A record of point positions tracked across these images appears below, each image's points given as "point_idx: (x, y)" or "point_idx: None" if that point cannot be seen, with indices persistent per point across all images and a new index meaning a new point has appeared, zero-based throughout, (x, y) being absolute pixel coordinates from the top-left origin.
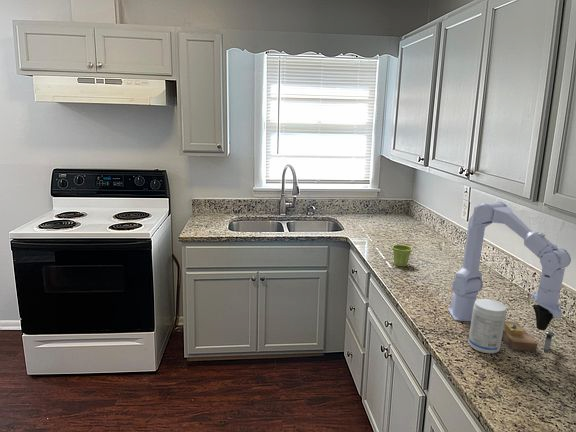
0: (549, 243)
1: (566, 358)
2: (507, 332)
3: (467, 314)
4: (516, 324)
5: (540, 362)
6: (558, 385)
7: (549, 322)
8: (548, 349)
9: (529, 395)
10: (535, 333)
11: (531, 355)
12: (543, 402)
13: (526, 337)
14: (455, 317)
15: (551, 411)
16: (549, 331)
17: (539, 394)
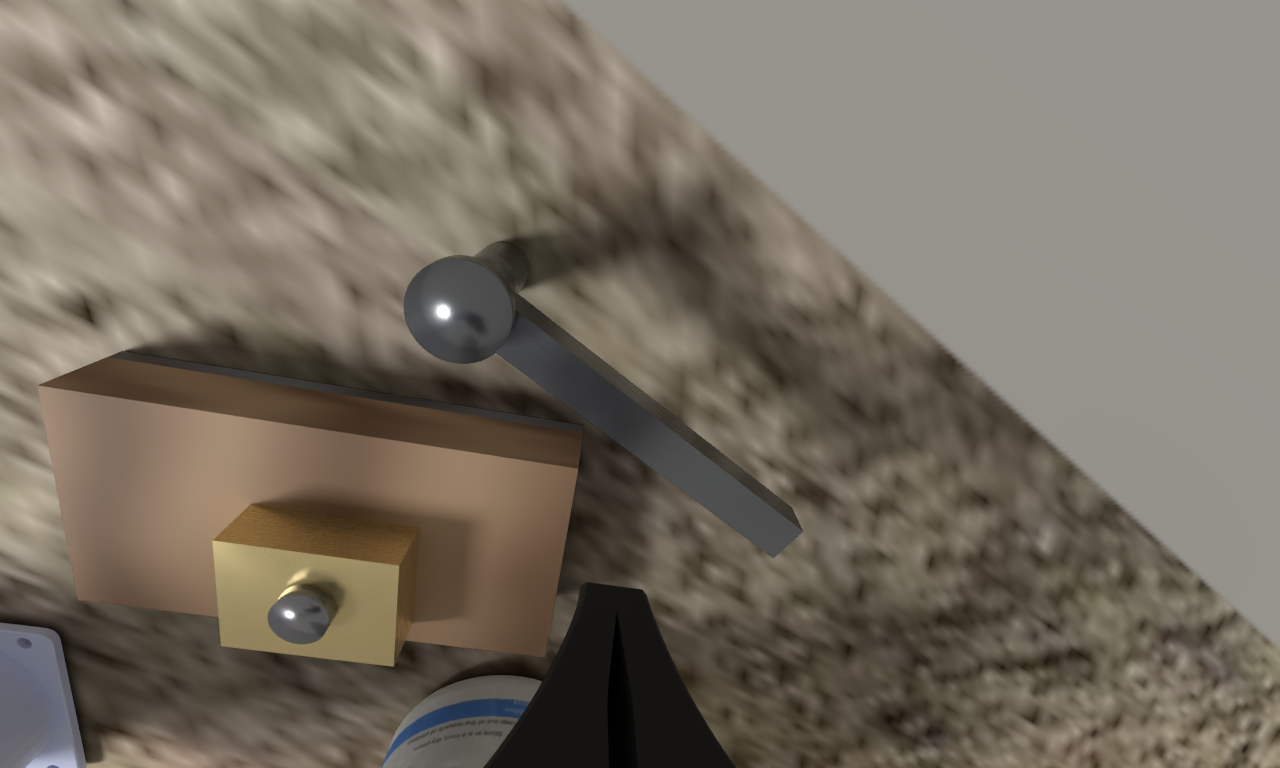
0: None
1: (700, 189)
2: None
3: (4, 753)
4: (227, 545)
5: None
6: (1037, 545)
7: (688, 697)
8: (792, 527)
9: (1061, 753)
10: (147, 160)
11: (633, 490)
12: (1138, 722)
13: (447, 501)
14: (39, 765)
15: (1213, 726)
16: (415, 290)
17: (1073, 703)
